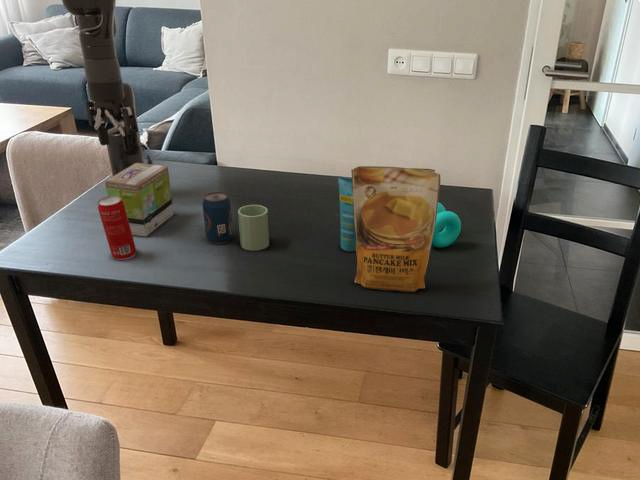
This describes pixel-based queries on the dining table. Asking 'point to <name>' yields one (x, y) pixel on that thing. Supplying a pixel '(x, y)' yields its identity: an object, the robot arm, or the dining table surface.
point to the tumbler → (253, 227)
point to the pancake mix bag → (394, 225)
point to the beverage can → (116, 227)
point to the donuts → (450, 228)
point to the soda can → (217, 217)
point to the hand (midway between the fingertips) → (117, 147)
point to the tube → (347, 214)
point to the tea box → (143, 196)
